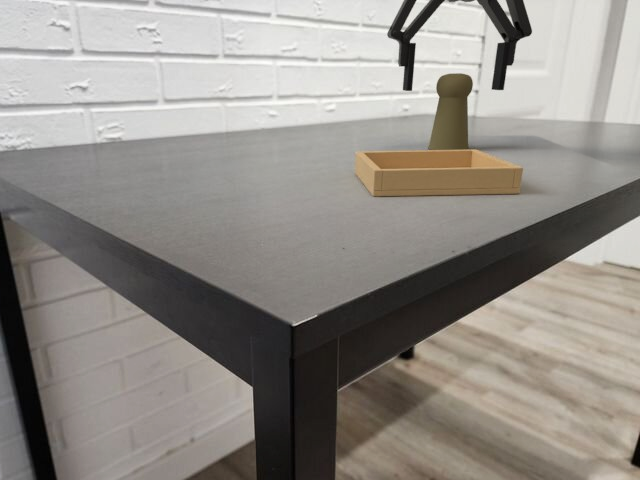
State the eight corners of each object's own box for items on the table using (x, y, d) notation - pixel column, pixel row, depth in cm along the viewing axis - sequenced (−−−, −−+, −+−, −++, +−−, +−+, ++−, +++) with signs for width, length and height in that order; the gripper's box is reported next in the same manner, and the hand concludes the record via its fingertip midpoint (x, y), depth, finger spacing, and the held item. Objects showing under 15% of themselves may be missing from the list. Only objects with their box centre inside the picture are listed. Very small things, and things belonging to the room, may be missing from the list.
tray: (473, 170, 63) (476, 149, 62) (519, 193, 51) (523, 167, 50) (354, 173, 63) (355, 151, 62) (373, 196, 51) (374, 170, 50)
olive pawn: (471, 151, 77) (481, 73, 73) (430, 151, 78) (437, 74, 74) (464, 146, 83) (473, 73, 79) (426, 146, 83) (432, 73, 80)
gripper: (548, -70, 73) (523, 88, 81) (373, -69, 73) (365, 89, 81) (577, -85, 66) (547, 90, 74) (383, -83, 66) (374, 91, 74)
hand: (452, 90), depth 77 cm, fingers open, 13 cm apart
